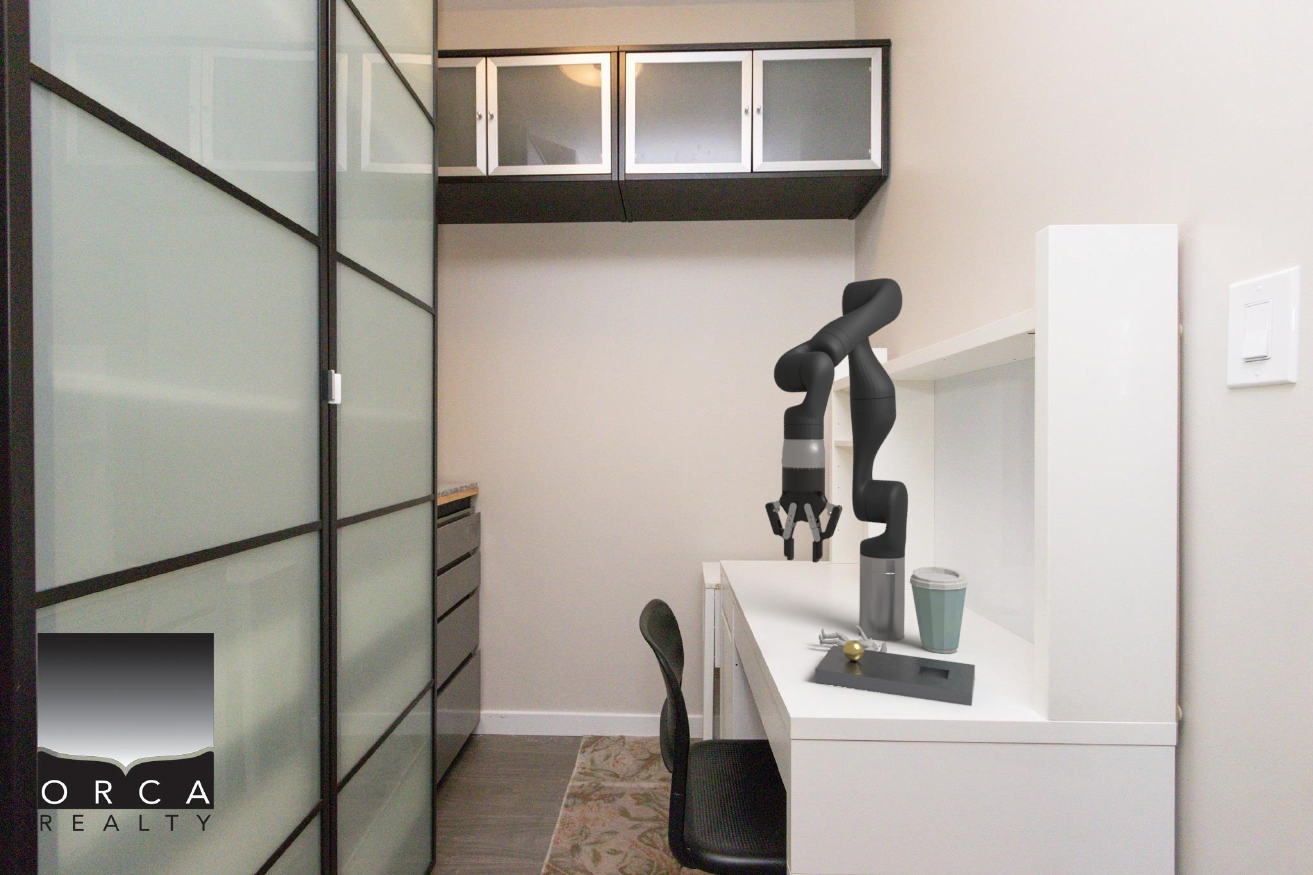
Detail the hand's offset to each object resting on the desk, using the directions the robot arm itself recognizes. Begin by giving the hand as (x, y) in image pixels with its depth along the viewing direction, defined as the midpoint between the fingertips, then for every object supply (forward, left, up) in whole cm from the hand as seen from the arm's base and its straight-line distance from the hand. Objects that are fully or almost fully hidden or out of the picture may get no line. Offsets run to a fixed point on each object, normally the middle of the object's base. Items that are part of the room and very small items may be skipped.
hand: (802, 560), depth 126 cm
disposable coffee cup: (-22, +21, -19) cm, 36 cm away
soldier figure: (-12, 0, -18) cm, 22 cm away
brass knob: (0, +9, -15) cm, 17 cm away
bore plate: (0, +16, -19) cm, 25 cm away
